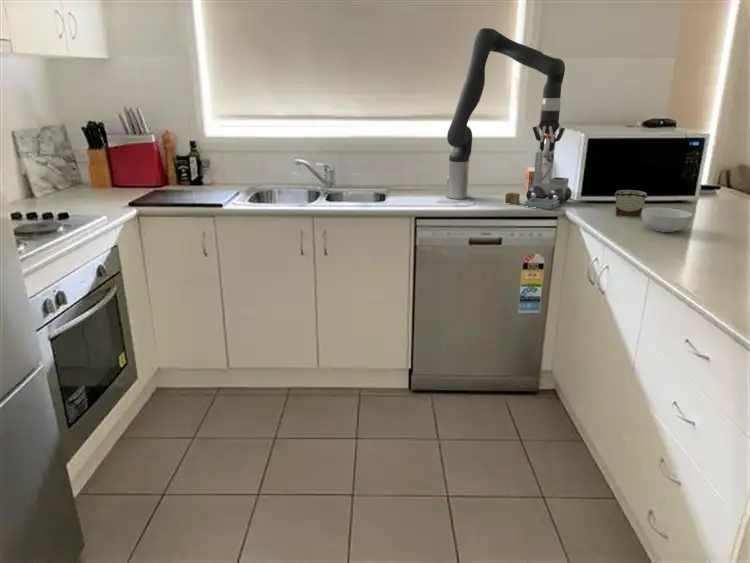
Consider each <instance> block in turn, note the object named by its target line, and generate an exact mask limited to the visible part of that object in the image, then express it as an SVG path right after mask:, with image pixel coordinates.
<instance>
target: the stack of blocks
mask: <svg viewBox="0 0 750 563" xmlns="http://www.w3.org/2000/svg"><path fill="white" fill-rule="evenodd" d="M538 168H539V166H538ZM534 171H535V166H531V167H530V166H527V168H526V170H525V171H524V186H523V187H524V191H526V192H525V194H526V193H527V191H528V190H529V189H531V188H532V182H534ZM543 174H544V172H543V170H542V173H541V180H543ZM537 180H538V177H537Z"/></svg>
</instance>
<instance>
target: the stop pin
mask: <svg viewBox="0 0 750 563" xmlns="http://www.w3.org/2000/svg"><path fill="white" fill-rule="evenodd" d="M550 143H551V138H550V134H544V145H543V159H549V158H551V153H552V152H550Z"/></svg>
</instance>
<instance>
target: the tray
mask: <svg viewBox="0 0 750 563" xmlns="http://www.w3.org/2000/svg"><path fill="white" fill-rule="evenodd" d="M524 203H525V204H524V205H525V206H528V207H527V208H529V207H536V208H535V209H537V208H541V209H540V210H547V211H553V210H556V209H557V208H559V207H560V205H561V204H560V201H559V200H550V199H548V198H545V199H541V198H531V199H529V200H528V199H527V200H526V201H525V202H524ZM559 204H560V205H559ZM525 206H524V207H525ZM555 208H556V209H555Z"/></svg>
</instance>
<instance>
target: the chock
mask: <svg viewBox="0 0 750 563" xmlns="http://www.w3.org/2000/svg"><path fill="white" fill-rule="evenodd" d="M520 195H521V193H518V192H511V191H509V192H506V193H505V203H510V204H509V205H514V204H516V205H518V204H519V203H520ZM517 203H518V204H517Z"/></svg>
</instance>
